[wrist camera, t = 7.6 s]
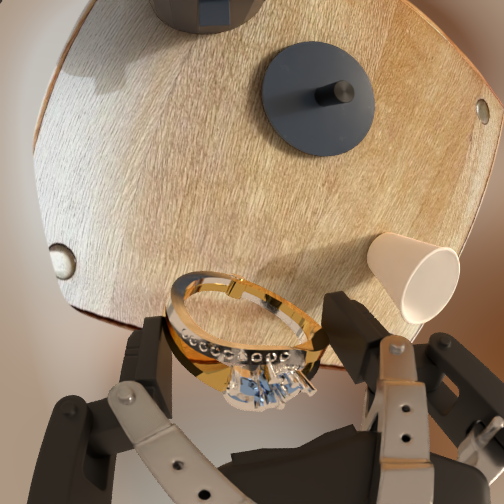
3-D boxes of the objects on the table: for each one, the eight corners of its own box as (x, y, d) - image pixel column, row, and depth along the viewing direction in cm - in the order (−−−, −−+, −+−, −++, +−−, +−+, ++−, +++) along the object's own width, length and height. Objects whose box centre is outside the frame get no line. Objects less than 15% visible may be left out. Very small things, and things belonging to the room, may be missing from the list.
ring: (301, 275, 16) (375, 375, 9) (275, 320, 17) (326, 428, 10) (183, 231, 14) (179, 336, 7) (162, 285, 15) (149, 408, 7)
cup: (341, 252, 36) (388, 293, 26) (392, 203, 35) (450, 229, 25) (371, 295, 40) (414, 338, 30) (416, 251, 39) (465, 284, 29)
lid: (263, 157, 30) (278, 161, 25) (256, 39, 25) (270, 20, 19) (370, 156, 32) (400, 162, 27) (366, 52, 27) (394, 43, 21)
